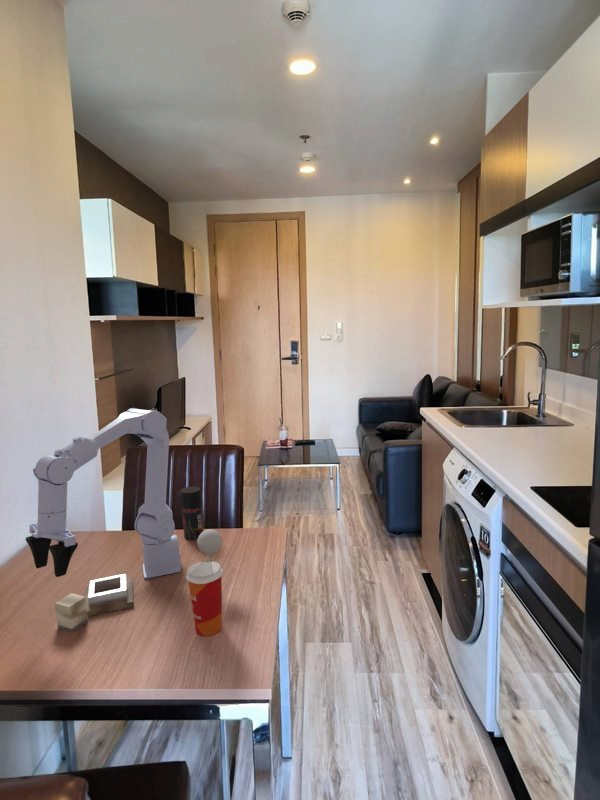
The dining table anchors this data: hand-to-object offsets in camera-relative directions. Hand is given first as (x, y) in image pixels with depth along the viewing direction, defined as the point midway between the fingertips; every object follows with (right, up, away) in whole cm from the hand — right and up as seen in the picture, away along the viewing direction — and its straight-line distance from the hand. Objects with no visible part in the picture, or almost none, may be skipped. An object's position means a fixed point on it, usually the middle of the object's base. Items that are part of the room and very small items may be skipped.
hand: (50, 571), depth 112 cm
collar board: (+9, -11, +11) cm, 18 cm away
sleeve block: (+4, -12, +1) cm, 13 cm away
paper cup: (+35, -12, -2) cm, 37 cm away
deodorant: (+22, -5, +45) cm, 51 cm away
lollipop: (+33, -9, +15) cm, 38 cm away
